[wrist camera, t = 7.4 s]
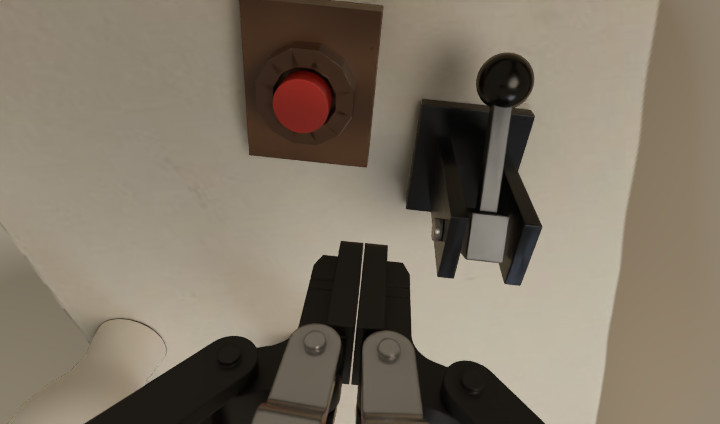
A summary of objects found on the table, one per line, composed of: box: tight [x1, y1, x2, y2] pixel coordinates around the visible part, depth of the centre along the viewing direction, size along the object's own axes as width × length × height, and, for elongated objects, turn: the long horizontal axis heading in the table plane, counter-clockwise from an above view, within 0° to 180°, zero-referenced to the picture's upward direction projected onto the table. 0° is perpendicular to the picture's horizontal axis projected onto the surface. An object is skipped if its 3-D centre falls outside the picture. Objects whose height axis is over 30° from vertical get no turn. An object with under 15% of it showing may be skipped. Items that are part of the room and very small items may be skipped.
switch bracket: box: [406, 99, 542, 286], centre depth 31 cm, size 9×8×12 cm
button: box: [273, 71, 332, 133], centre depth 29 cm, size 4×4×2 cm
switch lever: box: [460, 53, 534, 263], centre depth 27 cm, size 12×3×3 cm, turn 175°
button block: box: [239, 0, 383, 167], centre depth 32 cm, size 11×9×4 cm
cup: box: [8, 319, 166, 424], centre depth 45 cm, size 11×11×15 cm
